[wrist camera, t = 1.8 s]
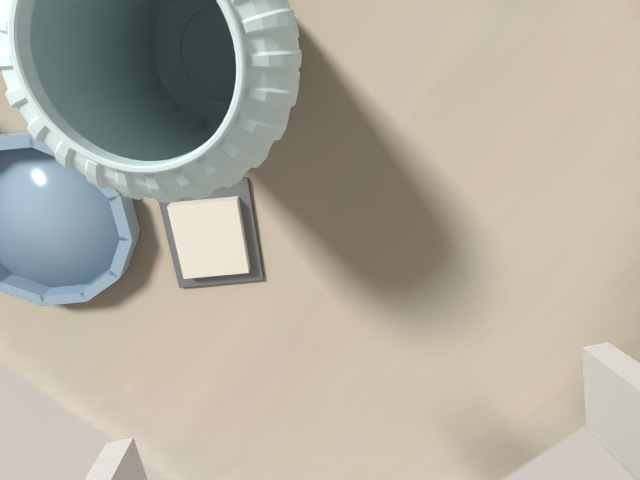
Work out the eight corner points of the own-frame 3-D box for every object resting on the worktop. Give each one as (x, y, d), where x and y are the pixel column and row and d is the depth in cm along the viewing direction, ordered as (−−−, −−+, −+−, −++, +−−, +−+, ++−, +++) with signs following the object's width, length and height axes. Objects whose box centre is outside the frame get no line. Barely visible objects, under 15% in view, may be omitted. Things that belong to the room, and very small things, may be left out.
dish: (-71, 140, 37) (-92, 145, 35) (112, 123, 37) (101, 127, 35) (-3, 299, 43) (-18, 311, 41) (154, 284, 43) (147, 296, 41)
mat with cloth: (156, 185, 39) (151, 191, 38) (247, 177, 39) (245, 182, 38) (180, 285, 43) (176, 294, 42) (263, 278, 43) (261, 286, 42)
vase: (193, 146, 38) (66, 260, 18) (127, 2, 34) (-141, -70, 13) (321, 101, 37) (344, 165, 17) (270, -54, 33) (218, -226, 12)
